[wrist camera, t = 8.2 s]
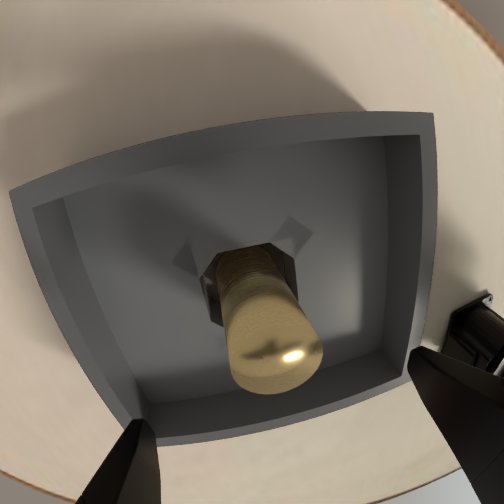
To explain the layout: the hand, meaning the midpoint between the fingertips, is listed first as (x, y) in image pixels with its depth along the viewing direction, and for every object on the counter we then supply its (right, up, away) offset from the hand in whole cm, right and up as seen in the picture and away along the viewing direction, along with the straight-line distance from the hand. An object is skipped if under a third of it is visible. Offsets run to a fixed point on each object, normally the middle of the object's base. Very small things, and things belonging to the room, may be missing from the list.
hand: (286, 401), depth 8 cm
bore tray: (-1, +3, +9) cm, 10 cm away
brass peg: (-1, +3, +9) cm, 10 cm away
